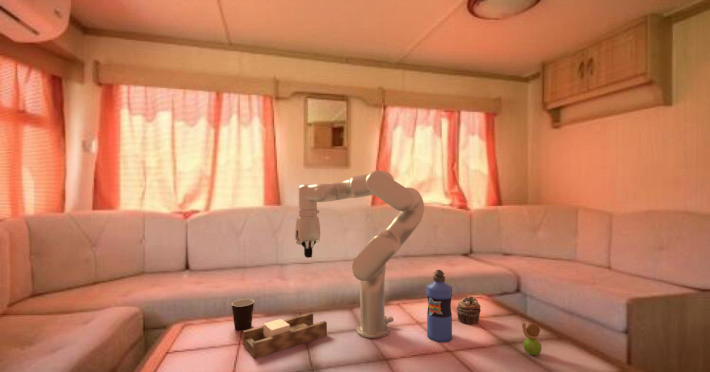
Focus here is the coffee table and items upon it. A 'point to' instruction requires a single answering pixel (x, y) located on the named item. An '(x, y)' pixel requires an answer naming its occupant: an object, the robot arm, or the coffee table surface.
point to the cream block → (276, 328)
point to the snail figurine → (531, 338)
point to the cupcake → (468, 311)
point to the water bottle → (439, 309)
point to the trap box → (283, 336)
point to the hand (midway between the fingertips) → (308, 257)
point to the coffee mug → (242, 314)
